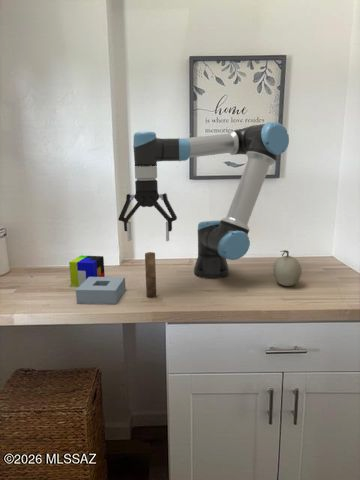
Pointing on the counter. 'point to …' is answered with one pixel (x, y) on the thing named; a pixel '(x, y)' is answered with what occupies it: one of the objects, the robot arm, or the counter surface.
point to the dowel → (150, 274)
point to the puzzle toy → (86, 268)
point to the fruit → (287, 270)
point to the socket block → (101, 290)
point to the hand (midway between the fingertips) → (148, 240)
